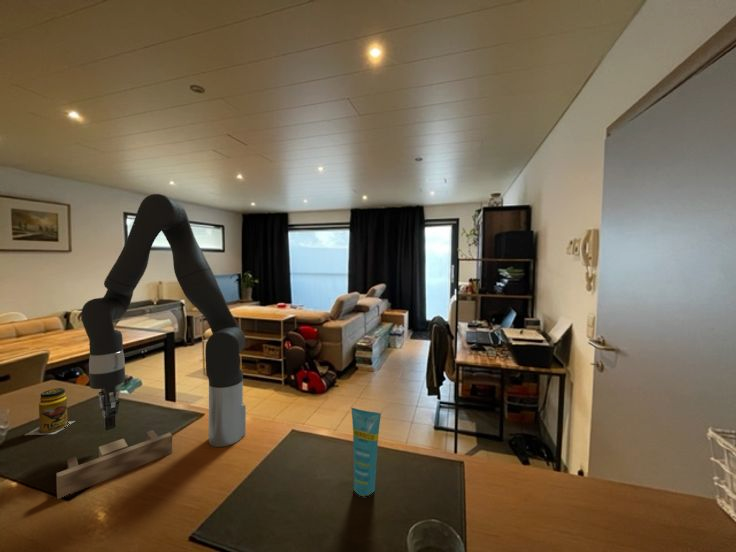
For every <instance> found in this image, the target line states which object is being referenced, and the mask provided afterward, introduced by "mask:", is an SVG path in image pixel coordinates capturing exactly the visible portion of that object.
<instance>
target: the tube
mask: <svg viewBox="0 0 736 552" xmlns="http://www.w3.org/2000/svg"><path fill="white" fill-rule="evenodd" d="M381 414H382V413H381V412H378V411H369V410H364V409H359V408H356V407H351V420H352V421H351V422H352V438H353V439H352V440H353V490H354V491H355V492H356V493H357V494H359V495H361V496H365V495H369V494H371V493H373V492H374V493H375V489H376V473H377V456H378V443H379V441H378V440H379V433H380V425H381V424H380V423H381V418H382V416H381ZM354 491H353V492H354ZM355 492H354V493H355ZM356 493H355V494H356ZM374 493H373V494H374ZM357 494H356V495H357Z"/></svg>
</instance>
